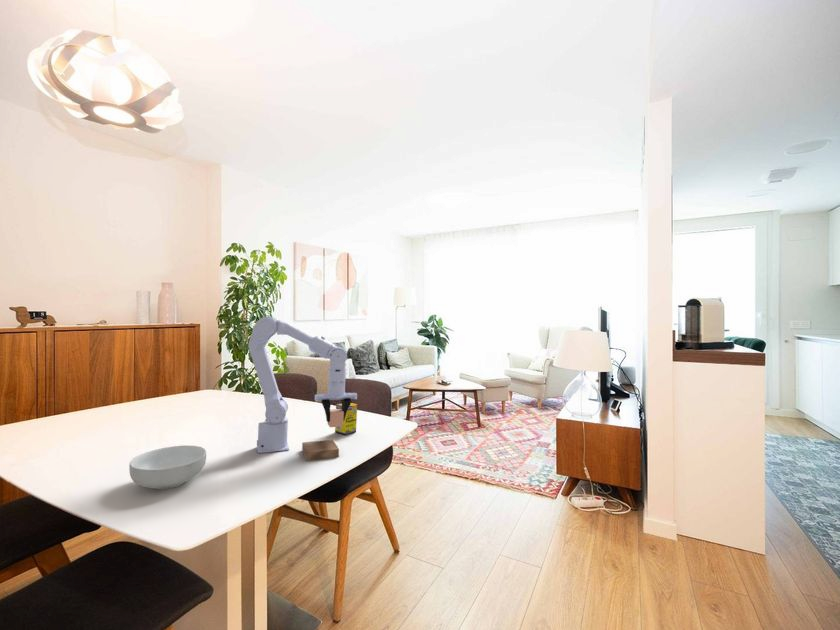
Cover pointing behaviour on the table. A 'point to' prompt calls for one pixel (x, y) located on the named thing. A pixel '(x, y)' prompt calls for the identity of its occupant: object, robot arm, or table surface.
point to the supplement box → (348, 420)
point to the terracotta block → (336, 418)
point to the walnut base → (320, 449)
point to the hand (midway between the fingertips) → (335, 420)
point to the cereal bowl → (167, 466)
